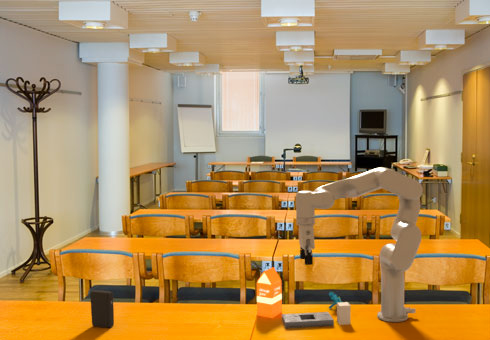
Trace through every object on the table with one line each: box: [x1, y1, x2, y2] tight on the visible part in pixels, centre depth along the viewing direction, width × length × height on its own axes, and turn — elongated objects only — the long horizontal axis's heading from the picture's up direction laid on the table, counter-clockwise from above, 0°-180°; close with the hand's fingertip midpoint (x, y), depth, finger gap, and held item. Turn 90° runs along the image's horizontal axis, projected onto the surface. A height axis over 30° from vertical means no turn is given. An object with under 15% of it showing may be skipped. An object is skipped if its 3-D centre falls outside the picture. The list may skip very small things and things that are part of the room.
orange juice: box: [256, 266, 283, 319], centre depth 263 cm, size 8×9×20 cm
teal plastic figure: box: [328, 291, 343, 310], centre depth 269 cm, size 11×6×10 cm
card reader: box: [90, 289, 115, 328], centre depth 252 cm, size 9×4×15 cm, turn 71°
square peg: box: [336, 301, 351, 326], centre depth 251 cm, size 4×4×8 cm
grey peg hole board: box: [281, 311, 335, 329], centre depth 251 cm, size 20×10×2 cm, turn 95°
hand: (306, 261), depth 249 cm, fingers open, 9 cm apart
